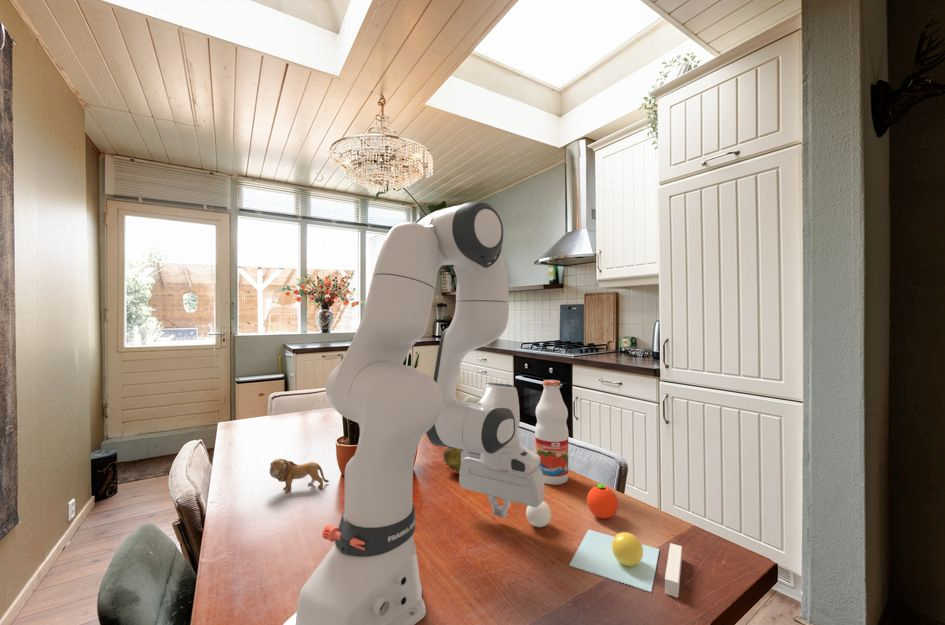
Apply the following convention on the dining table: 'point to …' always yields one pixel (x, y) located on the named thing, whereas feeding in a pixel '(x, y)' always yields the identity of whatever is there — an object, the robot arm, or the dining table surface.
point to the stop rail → (673, 570)
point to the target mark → (614, 562)
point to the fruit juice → (552, 434)
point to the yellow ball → (627, 549)
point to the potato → (453, 458)
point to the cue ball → (539, 515)
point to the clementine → (602, 501)
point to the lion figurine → (295, 472)
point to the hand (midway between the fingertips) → (500, 515)
